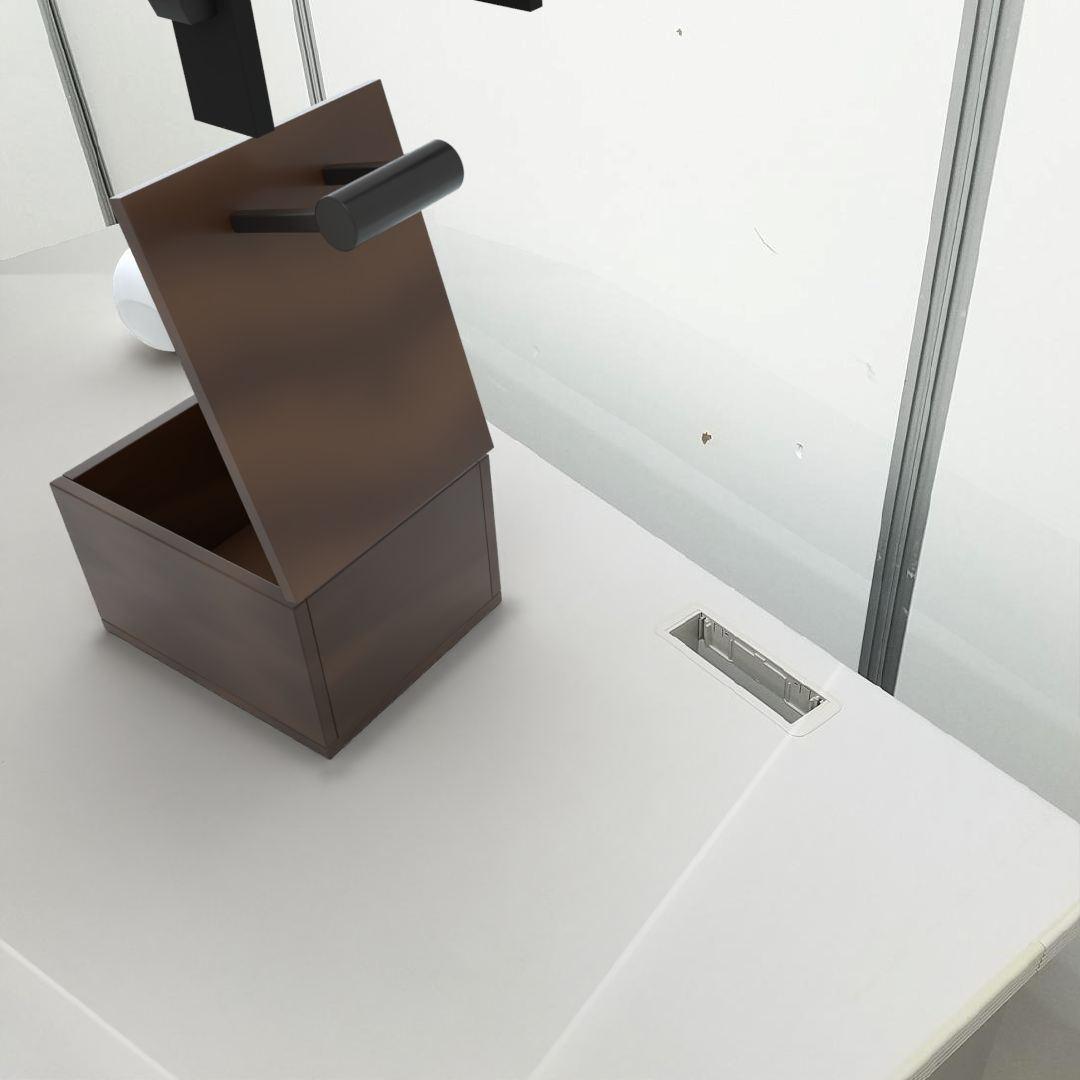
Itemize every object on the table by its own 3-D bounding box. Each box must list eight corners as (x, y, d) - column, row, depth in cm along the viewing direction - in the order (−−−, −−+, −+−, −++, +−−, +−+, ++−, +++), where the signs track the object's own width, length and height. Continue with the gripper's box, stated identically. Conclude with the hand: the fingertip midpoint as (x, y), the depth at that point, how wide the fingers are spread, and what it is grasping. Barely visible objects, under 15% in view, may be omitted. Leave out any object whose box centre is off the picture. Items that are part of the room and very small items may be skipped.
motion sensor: (234, 367, 86) (210, 265, 81) (123, 378, 86) (91, 276, 81) (242, 311, 92) (219, 212, 87) (137, 320, 92) (108, 222, 87)
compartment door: (107, 199, 44) (245, 193, 39) (367, 79, 52) (508, 64, 47) (285, 601, 53) (414, 634, 48) (482, 445, 61) (609, 462, 57)
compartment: (104, 628, 67) (47, 482, 60) (285, 499, 75) (252, 358, 69) (329, 760, 60) (293, 610, 53) (502, 600, 68) (489, 454, 61)
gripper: (-169, -1117, 18) (174, 226, 33) (697, -863, 34) (674, -21, 48) (-409, -1020, 22) (-3, 163, 36) (479, -829, 37) (518, -50, 51)
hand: (384, 59), depth 42 cm, fingers open, 13 cm apart
